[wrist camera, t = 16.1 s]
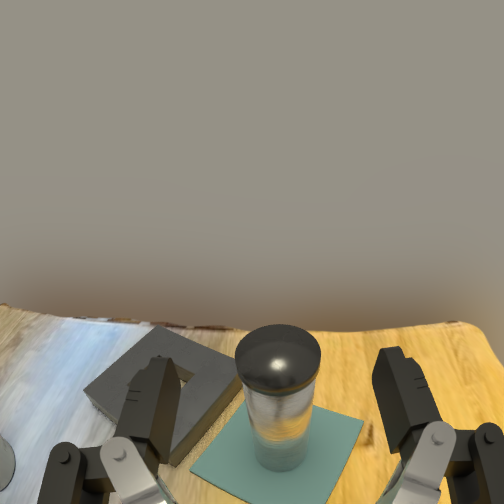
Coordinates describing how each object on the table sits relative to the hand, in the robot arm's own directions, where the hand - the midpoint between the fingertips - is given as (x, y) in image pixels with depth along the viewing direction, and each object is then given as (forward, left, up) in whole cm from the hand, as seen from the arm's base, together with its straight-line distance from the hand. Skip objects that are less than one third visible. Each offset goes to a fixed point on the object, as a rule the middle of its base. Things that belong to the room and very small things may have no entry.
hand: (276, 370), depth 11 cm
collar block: (+5, +18, -21) cm, 28 cm away
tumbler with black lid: (+5, +3, -20) cm, 21 cm away
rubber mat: (+5, +3, -21) cm, 22 cm away
